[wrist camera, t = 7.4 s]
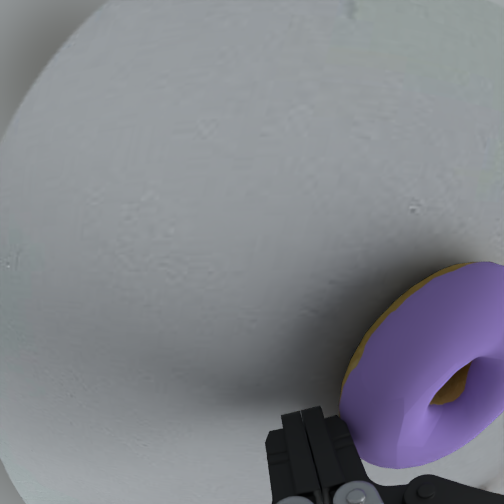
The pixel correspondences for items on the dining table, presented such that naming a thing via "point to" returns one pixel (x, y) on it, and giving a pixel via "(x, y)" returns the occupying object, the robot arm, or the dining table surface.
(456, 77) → the dining table surface
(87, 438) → the dining table surface
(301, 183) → the dining table surface
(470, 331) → the donut
